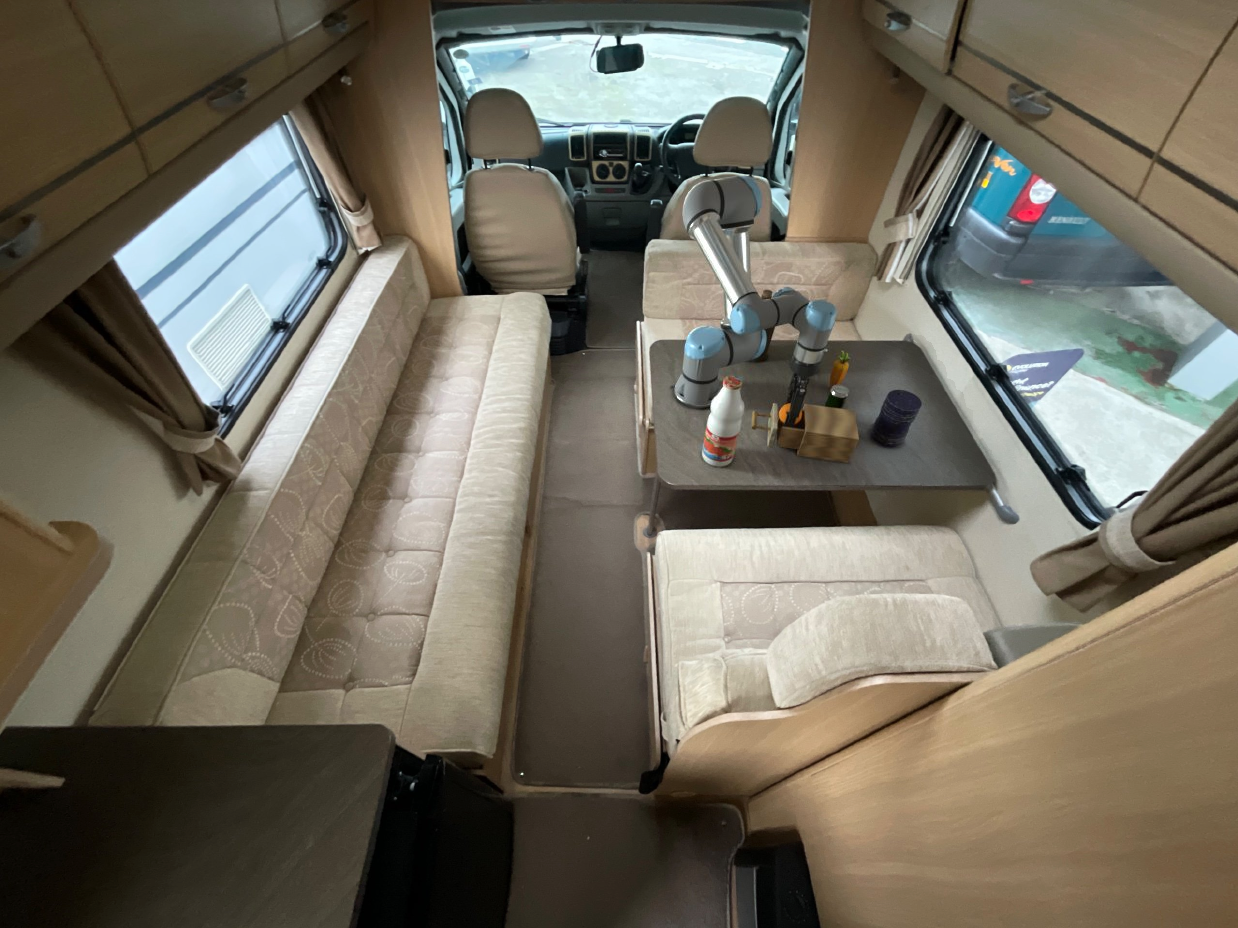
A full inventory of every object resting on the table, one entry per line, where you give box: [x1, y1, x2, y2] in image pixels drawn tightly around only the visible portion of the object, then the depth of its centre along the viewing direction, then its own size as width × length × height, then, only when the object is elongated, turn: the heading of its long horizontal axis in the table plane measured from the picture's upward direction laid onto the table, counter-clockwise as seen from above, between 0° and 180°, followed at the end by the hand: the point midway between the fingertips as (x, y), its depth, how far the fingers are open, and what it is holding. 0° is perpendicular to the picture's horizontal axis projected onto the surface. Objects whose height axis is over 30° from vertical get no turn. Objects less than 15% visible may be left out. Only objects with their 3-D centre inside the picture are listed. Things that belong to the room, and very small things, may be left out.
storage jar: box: [869, 389, 923, 449], centre depth 168 cm, size 10×10×15 cm
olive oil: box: [749, 289, 776, 363], centre depth 194 cm, size 11×11×25 cm
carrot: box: [829, 350, 851, 389], centre depth 184 cm, size 5×5×15 cm
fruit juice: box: [701, 375, 745, 468], centre depth 156 cm, size 9×9×28 cm
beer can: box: [824, 384, 849, 409], centre depth 175 cm, size 5×5×12 cm
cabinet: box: [796, 403, 860, 464], centre depth 167 cm, size 15×13×10 cm
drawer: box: [751, 403, 805, 450], centre depth 169 cm, size 19×12×8 cm, turn 79°
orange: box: [778, 403, 802, 425], centre depth 165 cm, size 6×6×6 cm
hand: (787, 421), depth 167 cm, fingers closed on orange, 6 cm apart
